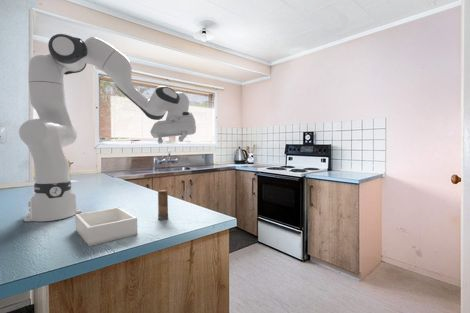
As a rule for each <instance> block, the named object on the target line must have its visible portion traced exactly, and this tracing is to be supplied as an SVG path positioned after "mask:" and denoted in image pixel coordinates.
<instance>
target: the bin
mask: <svg viewBox="0 0 470 313" xmlns="http://www.w3.org/2000/svg"><path fill="white" fill-rule="evenodd" d="M74 216H75V217H74V219H75V232H76V233H77V234H78V235H79V237H81V239H82V241H84V243H85V244H86V245H87V246H88V247H93V246H96V245H100V244H105V243H109V242H113V241H117V240H121V239H125V238H129V237H133V236H137V235H138V217H136V216H135V215H133V214H131V213H129V212H128V211H126V210H124V209H123V208H122V207H121V208H120V207H119V206H118V207H117V206H116V207H112V208H105V209H98V210H94V211H87V212H83V213H82V212H80V213H77V214H75V215H74Z"/></svg>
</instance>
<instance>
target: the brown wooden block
mask: <svg viewBox="0 0 470 313" xmlns="http://www.w3.org/2000/svg"><path fill="white" fill-rule="evenodd" d="M168 194H169V192H168V190H166V189H162V190H158V191H157V202H158V203H157V209H158V211H157V212H158V214H157V219H158V220H159V221H165V220H168V219H169V204H168V202H169V201H168V200H169V199H168V196H169V195H168Z"/></svg>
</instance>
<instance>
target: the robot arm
mask: <svg viewBox="0 0 470 313" xmlns="http://www.w3.org/2000/svg"><path fill="white" fill-rule="evenodd" d="M47 49H48V52H49V54H46V55H45V54H38V55H34V56H32V57H31V58H30V60H29V65H28V74H27V75H28V87H29V97H30V98H29V99H30V101H29V102H30V104H31V106H32V107H33V109H34V110H35V112H36V114H37V116H38V118H33V119H29V120H26V121H24V122H23V123H22V124H21V125H20V127H19V131H18V135H19V138H20V139H21V141H22V142H23V143H24V144H25V145H26V146H27V147H28V149H29V152H30V154H31V157H32V160H33V164H34V175H35V176H34V177H35V183H34V186H33V190H34V191H33V192H34V195H33V196H32V197H31V198H30V199H29V201H28V203H27V204H28V205H27V206H28V208H29V209H28V210H29V212H28V213H27V214H26V216H25V217H24V218H23V222H51V221H57V220H62V219H68V218H70V217H73V216H75V214H81V213H82V209H80V208H78V206H77V196H76V193H75V192H73V191H72V190H71V189H72V181H71V180H70V179H71V178H70V164H69V163H70V162H69V160H68V159H67V158H66V156H65V153H64V150H63V148H65V147H68V146H70V145H71V144H74V143H75V141H76V140H77V137H78V133H77V131H76V128H75V127H74V126H73V124H72V121H71V118H70V115H69V112H68V109H67V104H66V94H65V93H66V92H65V84H64V75H71V74H76V73H77V74H78V73H81V72H82V71H84V70H85V69H86V67H87V64H89V65H90V64H91V65H93V66H95V67H97V68H98V69H99V70H101V71H102V72H104V73H105V74H106V75H107V77H109V78H110V79H111V80H112V81H113V83H114V85H115V87H116V88H117V89H118V91H120V93H122V94H123V95H124V96H125V97H126V98H127V99H128V100H130V101H131V102H132V103H133V104H134V105H135V106H136V107H138V109H140V110H141V111H142V112H143V114H144V115H145V116H146V117H147V118H149V119H151V120H154V121H156V122H155V123H154V124H153V125H152V127H151V129H150V135H151V136H152V138H154V139H157V143H158V145H160V144H161V145H162V144H163V143H164V139H163V138H168V137H169V138H170V137H178V142H182V143H183V142H184V140H185V139H186V138H187V137H188V136H191V135H194V134H195V133H196V132H197V131H196V130H197V126H196V119H195V116H194V114H193V113H192V112H190V111H189V108H190V101H189V100H190V99H189V98H188V96H187V95H186V93H184V92H181V91H175V90H174V89H172V88H171V87H168V86H165V85H160V86H157V87H156V88H155V90H154V91H153V93H152V94H151V95H150V98H147V97H146V96H144V94H142V92H140V91H139V90H138V89H137V88H136V87H135V86H134V84H133V77H132V71H133V70H132V65H131V62H130V60H129V58H128V57H127V56H126V55H125V54H123V53H122V52H121V51H119V50H118V49H116V48H115V46H113V45H111V44H110V43H109V42H107V41H104V40H102V39H101V38H98V37H96V36H90V37H88V38H87V39H85V40H83V39H81V38H79V37H76V36H75V37H74V36H71V35H68V34H65V33H64V34H63V33H57V34H55V35H52V36H51V37H50V39H49V40H48V48H47ZM166 113H167V114H166ZM165 115H166V117H165V119H164V120H163V118H164V116H165Z"/></svg>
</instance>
